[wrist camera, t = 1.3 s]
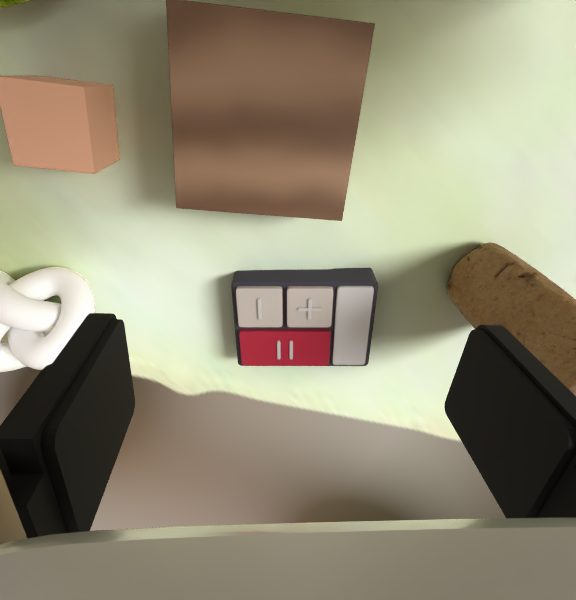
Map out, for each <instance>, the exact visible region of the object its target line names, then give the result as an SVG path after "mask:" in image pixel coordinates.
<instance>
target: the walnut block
mask: <svg viewBox="0 0 576 600" xmlns="http://www.w3.org/2000/svg"><path fill="white" fill-rule="evenodd" d="M166 7H167V27H168V48H169V68H170V89H171V109H172V129H173V150H174V170H175V191H176V208H182V209H195V210H208V211H221V212H234V213H247V214H260V215H273V216H286V217H299V218H312V219H325V220H337V221H342V217H343V211H344V205H345V199H346V193H347V187H348V181H349V175H350V169H351V163H352V157H353V151H354V145H355V139H356V133H357V127H358V121H359V115H360V109H361V103H362V97H363V91H364V85H365V79H366V73H367V67H368V61H369V55H370V49H371V43H372V37H373V31H374V25H375V24H374V23H366V22H357V21H349V20H341V19H333V18H324V17H316V16H308V15H300V14H292V13H283V12H275V11H267V10H259V9H250V8H242V7H234V6H226V5H218V4H209V3H201V2H193V1H185V0H166Z"/></svg>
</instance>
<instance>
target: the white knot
mask: <svg viewBox="0 0 576 600" xmlns="http://www.w3.org/2000/svg"><path fill="white" fill-rule="evenodd" d="M55 295H58V296H59V297H60V298H61V304H60V303H54V302H48V301H44V300H46V299H47V298H49V297H51V296H55ZM89 313H95V300H94V295H93V292H92V290H91V287H90V285H89V283H88V282H87V280H86V279H85V278H84V277H83V276H82V275H80V274H79V273H77V272H75V271H73V270H71V269H68V268H63V267H48V268H43V269H40V270H37V271H34V272H32V273H29V274H27V275H25V276H23V277H21V278H19V279H17V280H16V281H15V280H14V279H13V278H12V277H11V276H9V275H8V274H6V273H5V272H3V271H1V270H0V341H1V339H2V337H3V336H4V334H5V333H7V338H8V342H5V343H1V342H0V372H5V371H11V370H16V369H19V368H23V367H26V366H28V367H31V368H34V369H39V370H40V369H44V368H45V367H46V366H47V365H50V364H52V363H53V362H54V360H55V359H56V357H57V356H58V355H59V353H60V352H61V351H62V349H63V348H64V347H65V345H66V344H67V342H68V341H69V340H70V338H71V337H72V336H73V334H74V333H75V331H76V330H77V329H78V327H79V326H80V325H81V323H82V322H83V320H84V319H85V318H86V316H87V315H88V314H89Z"/></svg>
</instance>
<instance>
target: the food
mask: <svg viewBox="0 0 576 600" xmlns="http://www.w3.org/2000/svg"><path fill="white" fill-rule="evenodd" d="M26 1H30V0H0V7H9V6H11V5H14V4H17V3H22V2H26Z"/></svg>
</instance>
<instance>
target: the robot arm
mask: <svg viewBox="0 0 576 600" xmlns="http://www.w3.org/2000/svg"><path fill="white" fill-rule="evenodd" d="M134 407H135V398H134V390H133V383H132V376H131V369H130V362H129V355H128V348H127V341H126V334H125V327H124V322H123V320H117V318H116V316H115V315H114V314H104V313H89V314H88V315H87V316H86V318H85V319H84V320H83V322H82V323H81V325H80V326H79V327H78V329H77V330H76V331H75V333H74V334H73V336H72V337H71V338H70V340H69V341H68V342H67V344H66V345H65V347H64V348H63V349H62V351H61V352H60V353H59V355H58V356H57V357H56V359H55V360H54V362H53V363H52V364H50V365H47V366H46V367H45V368H44V369H43V370H42V371H41V372H40V373H39V375H38V376H37V378H36V379H35V380H34V382H33V383H32V384H31V385H30V387H29V388H28V390H27V391H26V392H25V394H24V395H23V396H22V398H21V399H20V400H19V402H18V403H17V404H16V406H15V407H14V408H13V410H12V411H11V412H10V414H9V415H8V416H7V418H6V419H5V420H4V422H3V423H2V424H1V426H0V600H576V396H575V395H574V394H573V393H572V392H571V391H570V390H569V389H568V388H567V387H566V386H565V385H564V384H563V383H562V382H561V381H560V380H559V379H558V378H557V377H555V376H554V375H553V374H552V373H551V372H550V371H549V370H548V369H547V368H546V367H545V366H544V365H543V364H542V363H541V362H540V361H539V360H538V359H537V358H536V357H535V356H534V355H533V354H532V353H531V352H530V351H529V350H528V349H527V348H526V347H525V346H524V345H523V344H522V343H521V342H519V341H518V340H517V339H516V338H515V337H514V336H513V335H512V334H511V333H510V332H509V331H508V330H507V329H506V328H505V327H504V326H502V325H479V326H478V327H477V328H476V329H474V330H472V331H471V332H470V334H469V337H468V339H467V342H466V345H465V348H464V351H463V353H462V356H461V359H460V362H459V365H458V367H457V370H456V373H455V376H454V378H453V381H452V384H451V387H450V390H449V392H448V395H447V398H446V401H445V412H446V414H447V416H448V418H449V420H450V422H451V423H452V425H453V427H454V429H455V430H456V432H457V434H458V435H459V437H460V439H461V441H462V442H463V444H464V446H465V448H466V449H467V451H468V453H469V454H470V456H471V458H472V460H473V461H474V463H475V465H476V466H477V468H478V470H479V472H480V473H481V475H482V477H483V479H484V480H485V482H486V484H487V485H488V487H489V489H490V491H491V492H492V494H493V496H494V498H495V499H496V501H497V503H498V504H499V506H500V508H501V509H502V511H503V513H504V515H505V517H506V519H505V518H504V519H452V520H451V519H449V520H406V521H405V520H404V521H364V522H363V521H362V522H324V523H323V522H322V523H289V524H288V523H286V524H253V525H223V526H221V525H219V526H185V527H161V528H141V529H120V530H97V531H90V528H91V526H92V523H93V520H94V518H95V515H96V512H97V510H98V507H99V504H100V502H101V499H102V496H103V493H104V491H105V488H106V485H107V483H108V480H109V477H110V475H111V472H112V469H113V467H114V464H115V461H116V459H117V456H118V453H119V451H120V448H121V445H122V442H123V440H124V437H125V434H126V432H127V429H128V426H129V424H130V421H131V418H132V416H133V412H134Z"/></svg>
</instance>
